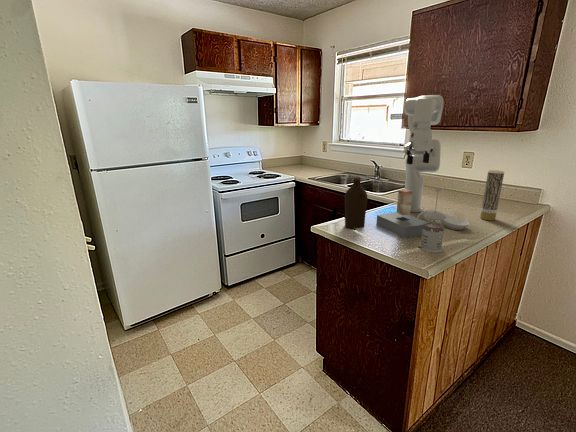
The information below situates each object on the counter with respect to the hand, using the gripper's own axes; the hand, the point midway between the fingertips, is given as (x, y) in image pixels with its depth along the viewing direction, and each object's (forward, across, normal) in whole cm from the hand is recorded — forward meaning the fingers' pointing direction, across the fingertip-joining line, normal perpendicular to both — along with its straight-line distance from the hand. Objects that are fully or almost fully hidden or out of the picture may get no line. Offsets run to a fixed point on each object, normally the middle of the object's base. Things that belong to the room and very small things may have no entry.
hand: (417, 163), depth 148 cm
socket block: (+30, -12, -7) cm, 33 cm away
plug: (+22, -12, -7) cm, 26 cm away
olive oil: (+31, -29, +7) cm, 43 cm away
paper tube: (+31, +41, -10) cm, 52 cm away
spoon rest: (+31, +11, -8) cm, 34 cm away
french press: (+31, -14, -27) cm, 43 cm away
